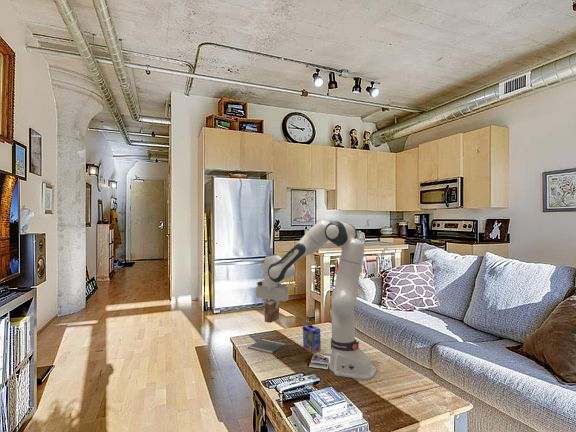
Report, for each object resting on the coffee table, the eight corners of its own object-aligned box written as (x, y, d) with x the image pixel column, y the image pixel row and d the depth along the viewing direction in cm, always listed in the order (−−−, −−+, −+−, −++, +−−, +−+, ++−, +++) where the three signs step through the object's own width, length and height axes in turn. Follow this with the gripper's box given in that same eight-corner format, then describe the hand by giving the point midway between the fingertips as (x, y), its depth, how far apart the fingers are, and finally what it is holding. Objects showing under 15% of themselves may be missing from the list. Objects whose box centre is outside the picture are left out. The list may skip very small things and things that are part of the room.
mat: (284, 345, 191) (284, 343, 191) (271, 353, 179) (271, 352, 179) (261, 340, 199) (261, 338, 199) (247, 348, 187) (247, 346, 187)
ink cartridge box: (302, 347, 188) (302, 321, 189) (310, 345, 192) (309, 320, 192) (313, 352, 180) (313, 326, 180) (321, 350, 183) (320, 324, 184)
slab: (279, 318, 190) (279, 299, 190) (270, 322, 182) (270, 302, 182) (273, 317, 192) (273, 298, 192) (264, 321, 184) (264, 301, 184)
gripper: (290, 283, 185) (290, 308, 185) (260, 280, 195) (260, 303, 195) (284, 285, 180) (285, 311, 179) (254, 282, 190) (254, 306, 190)
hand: (272, 307), depth 187 cm, fingers closed on slab, 4 cm apart
